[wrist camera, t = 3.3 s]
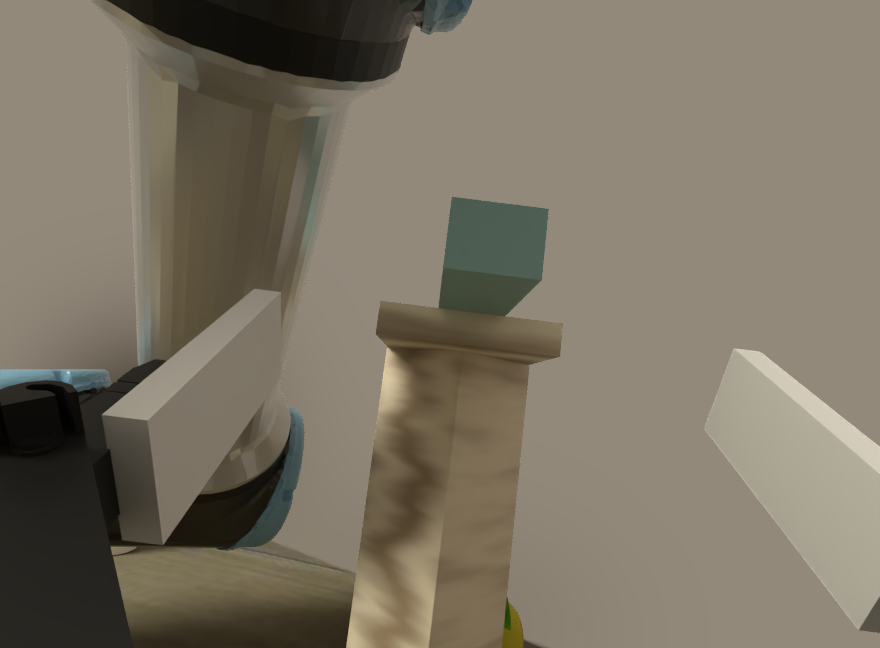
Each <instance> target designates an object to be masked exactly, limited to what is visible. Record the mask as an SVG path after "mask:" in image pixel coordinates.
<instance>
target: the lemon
mask: <svg viewBox="0 0 880 648" xmlns="http://www.w3.org/2000/svg"><path fill="white" fill-rule="evenodd" d="M523 643H524V640H523V629H522V624H521V621H520V618H519V615H518V613H517V611H516V610H515V609H514V607H513V606H512V605H511V604H510V603H509V602H508V599H506V609H505V620H504V630H503V640H502V648H523Z"/></svg>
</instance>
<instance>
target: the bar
mask: <svg viewBox="0 0 880 648" xmlns="http://www.w3.org/2000/svg"><path fill="white" fill-rule="evenodd" d="M548 210H549V209H544V208H536V207H528V206H521V205H512V204H505V203H497V202H489V201H481V200H473V199H464V198H457V197H452V201H451V209H450V217H449V226H448V233H447V241H446V249H445V258H444V265H443V274H442V282H441V291H440V300H439V308H442V309H450V310H458V311H466V312H474V313H482V314H490V315H498V316H506V315H507V314H508V313H509V312H510V311H511V310H512V309H513V308H514V307H515V306H516V305H517V304H518V303H519V302H520V301H521V300H522V299H523V298H524V297H525V296H526V295H527V294H528V293H529V292H530V291H531V290H532V289H533V288H534V287H535V286H536V285H537V284H538V283H539V282H540V281H541V280H542V272H543V260H544V251H545V240H546V230H547V220H548Z"/></svg>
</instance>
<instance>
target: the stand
mask: <svg viewBox="0 0 880 648" xmlns="http://www.w3.org/2000/svg"><path fill="white" fill-rule="evenodd" d="M562 328H563V323H555V322H546V321H538V320H530V319H522V318H514V317H506V316H498V315H490V314H482V313H474V312H466V311H458V310H450V309H442V308H434V307H425V306H418V305H409V304H401V303H393V302H385V301H380V308H379V315H378V322H377V329H376V335H377V336H378V337H379V338H380V339H381V340H382V341H383V342H384V343H385V344H386V345H387V346H388V348H387V352H386V359H385V367H384V374H383V382H382V390H381V396H380V404H379V411H378V418H377V425H376V433H375V440H374V447H373V455H372V462H371V469H370V477H369V484H368V491H367V499H366V506H365V514H364V521H363V528H362V535H361V542H360V550H359V558H358V565H357V572H356V579H355V586H354V594H353V601H352V608H351V616H350V623H349V630H348V638H347V645H346V648H502V640H503V630H504V620H505V609H506V599H507V588H508V579H509V568H510V558H511V548H512V538H513V528H514V517H515V508H516V497H517V487H518V476H519V467H520V457H521V447H522V436H523V426H524V416H525V405H526V395H527V385H528V375H529V365H530V364H534V363H538V362H542V361H546V360H549V359H553V358H556V357H560V350H561V339H562Z"/></svg>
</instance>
